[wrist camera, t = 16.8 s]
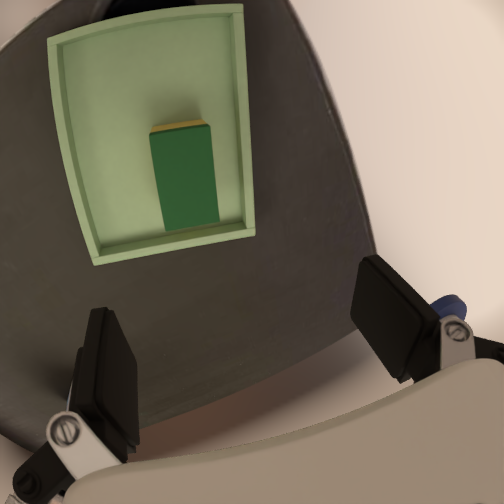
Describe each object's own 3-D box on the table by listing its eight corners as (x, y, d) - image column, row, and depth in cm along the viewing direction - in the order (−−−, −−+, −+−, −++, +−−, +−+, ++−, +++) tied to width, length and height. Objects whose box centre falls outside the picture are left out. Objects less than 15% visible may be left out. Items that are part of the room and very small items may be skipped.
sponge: (151, 126, 21) (148, 135, 17) (202, 118, 22) (210, 125, 18) (164, 208, 25) (165, 232, 21) (211, 199, 26) (220, 222, 22)
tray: (55, 41, 15) (46, 38, 14) (236, 9, 18) (243, 3, 16) (97, 253, 26) (93, 266, 24) (249, 225, 29) (255, 235, 27)
